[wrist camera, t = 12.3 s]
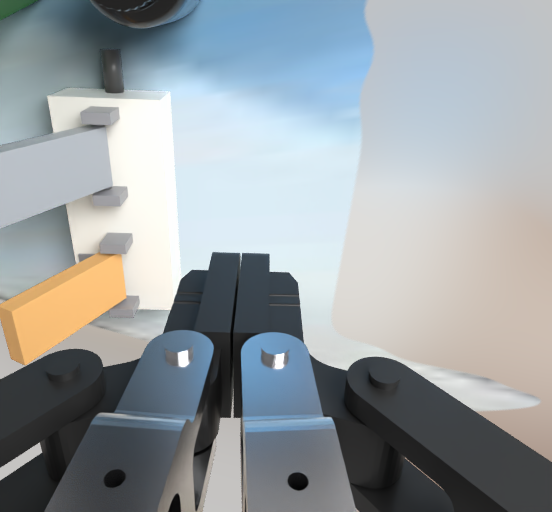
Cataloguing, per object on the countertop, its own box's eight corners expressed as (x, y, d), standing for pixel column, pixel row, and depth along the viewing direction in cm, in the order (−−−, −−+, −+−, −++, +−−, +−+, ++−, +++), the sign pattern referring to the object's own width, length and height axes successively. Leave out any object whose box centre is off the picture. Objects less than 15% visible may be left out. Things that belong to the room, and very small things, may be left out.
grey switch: (95, 120, 35) (-46, 152, 27) (109, 123, 35) (-30, 156, 27) (103, 183, 38) (-25, 230, 29) (117, 186, 37) (-10, 235, 29)
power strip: (61, 46, 37) (24, 53, 31) (167, 50, 37) (149, 58, 32) (97, 284, 46) (74, 322, 41) (181, 286, 47) (169, 324, 41)
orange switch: (111, 243, 40) (-4, 303, 32) (124, 247, 39) (10, 309, 31) (117, 293, 42) (11, 361, 34) (130, 297, 42) (25, 367, 33)
